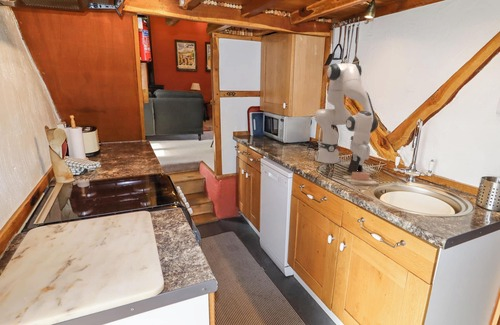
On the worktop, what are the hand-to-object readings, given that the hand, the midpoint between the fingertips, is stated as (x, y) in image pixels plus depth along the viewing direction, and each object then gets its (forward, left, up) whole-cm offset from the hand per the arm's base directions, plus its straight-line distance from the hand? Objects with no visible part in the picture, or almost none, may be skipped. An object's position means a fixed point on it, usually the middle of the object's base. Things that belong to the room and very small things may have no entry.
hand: (357, 162), depth 166 cm
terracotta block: (0, -2, -8) cm, 9 cm away
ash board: (0, +3, -12) cm, 12 cm away
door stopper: (-21, +8, -12) cm, 25 cm away
